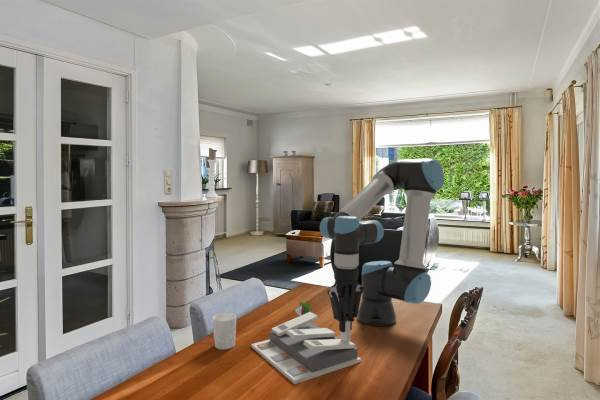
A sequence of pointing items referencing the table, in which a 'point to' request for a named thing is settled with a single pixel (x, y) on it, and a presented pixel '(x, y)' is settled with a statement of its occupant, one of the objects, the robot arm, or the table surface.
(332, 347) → the rocker
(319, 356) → the switch unit
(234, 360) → the table surface
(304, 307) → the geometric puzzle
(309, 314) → the rocker
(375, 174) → the robot arm
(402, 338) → the table surface
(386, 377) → the table surface
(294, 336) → the bar
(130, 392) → the table surface
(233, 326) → the white cup
